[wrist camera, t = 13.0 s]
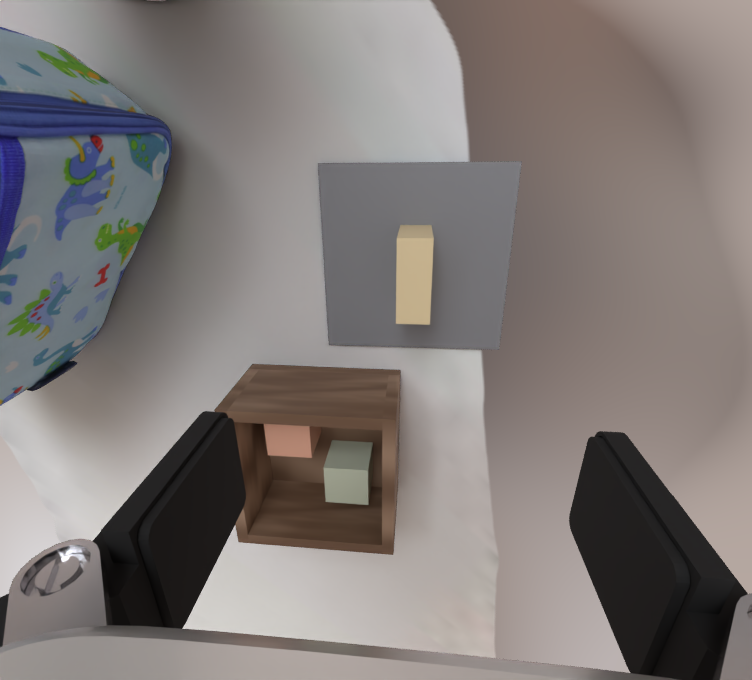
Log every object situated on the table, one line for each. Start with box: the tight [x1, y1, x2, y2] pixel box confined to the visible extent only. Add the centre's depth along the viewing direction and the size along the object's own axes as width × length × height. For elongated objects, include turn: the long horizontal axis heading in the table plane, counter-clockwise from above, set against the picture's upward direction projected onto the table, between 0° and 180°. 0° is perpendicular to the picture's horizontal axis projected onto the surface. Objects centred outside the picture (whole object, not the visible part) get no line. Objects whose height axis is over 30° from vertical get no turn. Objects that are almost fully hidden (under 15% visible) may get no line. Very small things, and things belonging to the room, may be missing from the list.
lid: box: [318, 161, 522, 350], centre depth 31 cm, size 15×15×7 cm
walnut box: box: [214, 364, 400, 555], centre depth 38 cm, size 14×14×8 cm
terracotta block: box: [264, 424, 321, 458], centre depth 38 cm, size 4×4×4 cm
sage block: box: [324, 440, 373, 505], centre depth 39 cm, size 4×4×4 cm
